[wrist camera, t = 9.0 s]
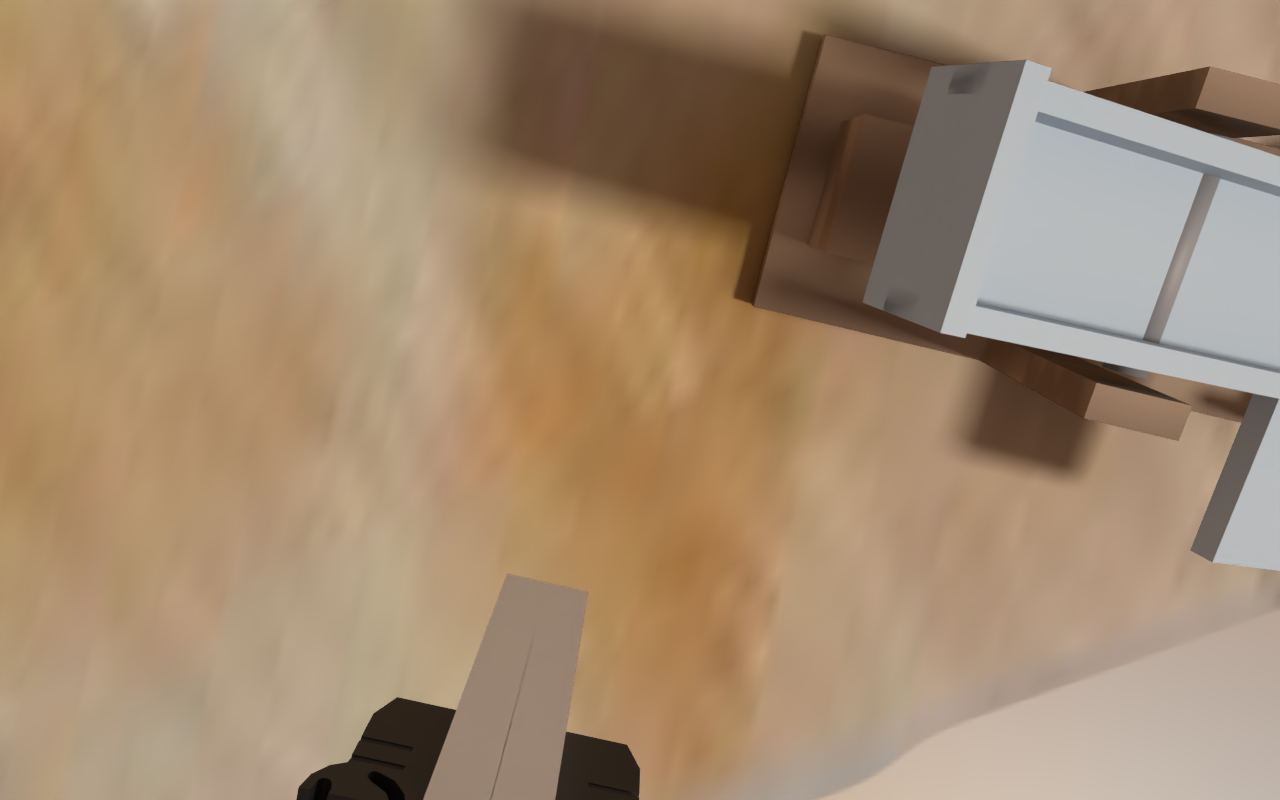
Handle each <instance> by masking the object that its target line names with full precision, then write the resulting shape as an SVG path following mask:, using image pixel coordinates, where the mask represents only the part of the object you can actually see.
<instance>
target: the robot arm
mask: <svg viewBox="0 0 1280 800" xmlns="http://www.w3.org/2000/svg"><path fill="white" fill-rule="evenodd" d="M587 596H588V592H587V591H583V590H578V589H574V588H569V587H565V586H560V585H556V584H551V583H547V582H542V581H538V580H534V579H529V578H525V577H520V576H516V575H511V574H507V575H506V578H505V581H504V584H503V586H502V589H501V592H500V594H499V597H498V600H497V602H496V605H495V608H494V610H493V613H492V616H491V618H490V621H489V624H488V627H487V629H486V632H485V635H484V637H483V640H482V643H481V645H480V648H479V651H478V653H477V656H476V659H475V662H474V664H473V667H472V670H471V672H470V675H469V678H468V680H467V683H466V686H465V688H464V691H463V694H462V696H461V699H460V702H459V705H458V707H457V710H453V709H448V708H444V707H439V706H435V705H430V704H425V703H421V702H416V701H412V700H407V699H403V698H398V697H397V698H396V699H394V700H393V701H391V702H390V703H388V704H387V705H386V706H384V707H383V708H381V709H380V710H378V711H377V712H375V713H374V714H373V716H372V718H371V720H370V721H369V723H368V725H367V727H366V729H365V731H364V733H363V735H362V738H361V741H359V742H358V744H357V746H356V748H355V750H354V752H353V754H352V757H351V759H350V760H349V762H346V763H340V764H334V765H329V766H327V767H325V768H323V769H321V770H319V771H317V772H315V773H313V774H311V775H310V776H309V777H308V778H307V779H306V780H305V781H304V782H303V783H302V784H301V785H300V786H299V789H298V795H297V800H639V798H638V797H639V783H640V768H639V766H638V765H637V763H636V761H635V759H634V757H633V755H632V753H631V752H630V750H629V748H628V746H627V745H625V744H620V743H616V742H611V741H607V740H602V739H597V738H593V737H588V736H584V735H579V734H575V733H570V732H566V728H567V722H568V716H569V709H570V703H571V697H572V691H573V684H574V678H575V672H576V665H577V659H578V653H579V647H580V640H581V634H582V628H583V622H584V615H585V609H586V603H587Z"/></svg>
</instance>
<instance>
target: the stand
mask: <svg viewBox="0 0 1280 800" xmlns="http://www.w3.org/2000/svg"><path fill="white" fill-rule="evenodd" d="M936 66H948V65H944V64H940V63H936V62H932V61H928V60H924V59H920V58H916V57H912V56H908V55H904V54H900V53H896V52H892V51H888V50H884V49H880V48H876V47H872V46H868V45H864V44H860V43H856V42H852V41H848V40H844V39H840V38H836V37H832V36H828V35H825V36H824V37H823V38H822V41H821V45H820V49H819V53H818V57H817V60H816V64H815V68H814V72H813V75H812V79H811V83H810V87H809V90H808V94H807V98H806V102H805V106H804V109H803V113H802V117H801V121H800V124H799V128H798V132H797V136H796V139H795V143H794V147H793V151H792V155H791V158H790V162H789V166H788V170H787V173H786V177H785V181H784V185H783V188H782V192H781V196H780V200H779V204H778V207H777V211H776V215H775V219H774V222H773V226H772V230H771V234H770V237H769V241H768V245H767V249H766V253H765V256H764V260H763V264H762V268H761V271H760V275H759V279H758V283H757V287H756V290H755V294H754V298H753V302H752V305H753V306H754V307H758V308H762V309H766V310H771V311H775V312H779V313H783V314H787V315H792V316H796V317H800V318H804V319H808V320H813V321H817V322H821V323H825V324H829V325H834V326H838V327H842V328H846V329H850V330H855V331H859V332H863V333H867V334H871V335H875V336H880V337H884V338H888V339H892V340H896V341H901V342H905V343H909V344H913V345H917V346H922V347H926V348H930V349H934V350H938V351H943V352H947V353H951V354H955V355H959V356H964V357H968V358H972V359H976V360H980V361H982V362H984V363H986V364H987V365H989V366H991V367H993V368H995V369H996V370H998V371H1000V372H1002V373H1004V374H1005V375H1007V376H1009V377H1011V378H1012V379H1014V380H1016V381H1018V382H1020V383H1021V384H1023V385H1025V386H1027V387H1029V388H1030V389H1032V390H1034V391H1036V392H1038V393H1039V394H1041V395H1043V396H1045V397H1046V398H1048V399H1050V400H1052V401H1054V402H1055V403H1057V404H1059V405H1061V406H1063V407H1064V408H1066V409H1068V410H1070V411H1072V412H1073V413H1075V414H1077V415H1079V416H1081V417H1082V418H1084V419H1089V420H1093V421H1097V422H1101V423H1106V424H1110V425H1114V426H1118V427H1122V428H1127V429H1131V430H1135V431H1139V432H1144V433H1148V434H1152V435H1156V436H1160V437H1165V438H1169V439H1173V440H1177V441H1179V438H1180V436H1181V433H1182V430H1183V428H1184V425H1185V423H1186V420H1187V418H1188V415H1189V412H1190V411H1194V412H1199V413H1203V414H1207V415H1211V416H1215V417H1220V418H1224V419H1228V420H1232V421H1236V422H1241V423H1242V420H1243V418H1244V415H1245V413H1246V410H1247V408H1248V405H1249V403H1250V400H1251V398H1252V395H1253V393H1249V392H1244V391H1239V390H1235V389H1230V388H1225V387H1220V386H1216V385H1211V384H1206V383H1201V382H1197V381H1192V380H1187V379H1182V378H1177V377H1173V376H1168V375H1163V374H1158V373H1154V372H1149V374H1148V377H1147V379H1144V378H1139V377H1135V376H1131V375H1127V374H1123V373H1120V372H1116V371H1113V370H1110V369H1107V368H1104V367H1102V365H1103V362H1101V361H1096V360H1092V359H1087V358H1082V357H1077V356H1073V355H1068V354H1063V353H1058V352H1054V351H1049V350H1044V349H1039V348H1034V347H1030V346H1025V345H1020V344H1015V343H1011V342H1006V341H1001V340H996V339H992V338H987V337H982V336H977V335H973V334H968V333H967V334H966V337H965V338H962V337H958V336H953V335H948V334H943V333H939V332H937V331H934V330H932V329H929V328H926V327H924V326H921V325H919V324H916V323H914V322H911V321H909V320H906V319H903V318H901V317H898V316H896V315H893V314H891V313H888V312H886V311H883V310H880V309H878V308H875V307H873V306H870V305H868V304H865V303H863V299H864V295H865V292H866V289H867V285H868V282H869V278H870V275H871V272H872V268H873V265H874V261H875V258H876V255H877V251H878V248H879V244H880V241H881V237H882V234H883V231H884V227H885V224H886V220H887V217H888V214H889V210H890V207H891V203H892V200H893V197H894V193H895V190H896V186H897V183H898V179H899V176H900V173H901V169H902V166H903V162H904V159H905V156H906V152H907V149H908V145H909V142H910V139H911V135H912V132H913V128H914V125H915V121H916V118H917V115H918V111H919V108H920V104H921V101H922V98H923V94H924V91H925V87H926V84H927V81H928V77H929V74H930V70H931V67H936ZM1084 93H1087V94H1090V95H1093V96H1096V97H1099V98H1102V99H1105V100H1108V101H1111V102H1114V103H1117V104H1120V105H1123V106H1126V107H1130V108H1133V109H1136V110H1139V111H1142V112H1145V113H1148V114H1151V115H1154V116H1157V117H1160V118H1163V119H1166V120H1169V121H1172V122H1175V123H1179V124H1182V125H1185V126H1188V127H1191V128H1194V129H1197V130H1200V131H1203V132H1206V133H1213V134H1218V135H1222V136H1226V137H1229V138H1232V139H1234V140H1235V142H1237V143H1240V144H1243V145H1246V146H1249V147H1252V148H1255V149H1258V150H1261V151H1264V152H1267V153H1270V154H1273V155H1276V156H1280V149H1278V148H1275V147H1271V146H1267V145H1263V144H1259V143H1255V142H1251V141H1247V140H1243V139H1239V138H1242V137H1256V136H1271V135H1280V84H1277V83H1273V82H1269V81H1265V80H1261V79H1258V78H1254V77H1250V76H1246V75H1242V74H1238V73H1234V72H1230V71H1226V70H1222V69H1218V68H1214V67H1206V68H1201V69H1196V70H1191V71H1186V72H1181V73H1176V74H1171V75H1166V76H1161V77H1156V78H1151V79H1146V80H1141V81H1136V82H1131V83H1126V84H1121V85H1116V86H1111V87H1106V88H1101V89H1096V90H1091V91H1086V92H1084Z"/></svg>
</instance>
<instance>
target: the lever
mask: <svg viewBox="0 0 1280 800" xmlns="http://www.w3.org/2000/svg"><path fill="white" fill-rule="evenodd" d="M1051 70H1052V68H1050V67H1047V66H1044V65H1041V64H1038V63H1035V62H1032V61H1029V60H1017V61H1003V62H990V63H976V64H963V65H949V66H936V67H931V70H930V74H929V77H928V81H927V84H926V87H925V91H924V94H923V98H922V101H921V104H920V108H919V111H918V115H917V118H916V121H915V125H914V128H913V132H912V135H911V139H910V142H909V145H908V149H907V152H906V156H905V159H904V162H903V166H902V169H901V173H900V176H899V179H898V183H897V186H896V190H895V193H894V197H893V200H892V203H891V207H890V210H889V214H888V217H887V220H886V224H885V227H884V231H883V234H882V237H881V241H880V244H879V248H878V251H877V255H876V258H875V261H874V265H873V268H872V272H871V275H870V278H869V282H868V285H867V289H866V292H865V295H864V299H863V303H865V304H868V305H870V306H873V307H875V308H878V309H880V310H883V311H886V312H888V313H891V314H893V315H896V316H898V317H901V318H903V319H906V320H909V321H911V322H914V323H916V324H919V325H921V326H924V327H926V328H929V329H932V330H934V331H937V332H939V333H943V334H948V335H953V336H958V337H962V338H965V337H966V334H967V333H968V334H973V335H977V336H982V337H987V338H992V339H996V340H1001V341H1006V342H1011V343H1015V344H1020V345H1025V346H1030V347H1034V348H1039V349H1044V350H1049V351H1054V352H1058V353H1063V354H1068V355H1073V356H1077V357H1082V358H1087V359H1092V360H1096V361H1101V362H1103V365H1102V367H1104V368H1107V369H1110V370H1113V371H1116V372H1120V373H1123V374H1127V375H1131V376H1135V377H1139V378H1144V379H1147V377H1148V374H1149V372H1154V373H1158V374H1163V375H1168V376H1173V377H1177V378H1182V379H1187V380H1192V381H1197V382H1201V383H1206V384H1211V385H1216V386H1220V387H1225V388H1230V389H1235V390H1239V391H1244V392H1249V393H1253V395H1252V398H1251V400H1250V403H1249V405H1248V408H1247V410H1246V413H1245V415H1244V418H1243V420H1242V423H1241V425H1240V428H1239V430H1238V433H1237V435H1236V438H1235V440H1234V443H1233V445H1232V448H1231V450H1230V453H1229V455H1228V458H1227V460H1226V463H1225V465H1224V468H1223V470H1222V473H1221V475H1220V478H1219V480H1218V483H1217V485H1216V488H1215V490H1214V493H1213V495H1212V498H1211V500H1210V503H1209V505H1208V508H1207V510H1206V513H1205V515H1204V518H1203V520H1202V523H1201V525H1200V528H1199V530H1198V533H1197V535H1196V538H1195V540H1194V542H1193V545H1192V547H1191V551H1193V552H1194V553H1196V554H1198V555H1200V556H1202V557H1204V558H1206V559H1207V560H1209V561H1211V562H1215V563H1223V564H1231V565H1239V566H1246V567H1254V568H1262V569H1270V570H1278V571H1280V156H1276V155H1273V154H1270V153H1267V152H1264V151H1261V150H1258V149H1255V148H1252V147H1249V146H1246V145H1243V144H1240V143H1237V142H1235V140H1234V139H1232V138H1229V137H1226V136H1222V135H1218V134H1213V133H1206V132H1203V131H1200V130H1197V129H1194V128H1191V127H1188V126H1185V125H1182V124H1179V123H1175V122H1172V121H1169V120H1166V119H1163V118H1160V117H1157V116H1154V115H1151V114H1148V113H1145V112H1142V111H1139V110H1136V109H1133V108H1130V107H1126V106H1123V105H1120V104H1117V103H1114V102H1111V101H1108V100H1105V99H1102V98H1099V97H1096V96H1093V95H1090V94H1087V93H1084V92H1081V91H1077V90H1074V89H1071V88H1068V87H1065V86H1062V85H1059V84H1056V83H1053V82H1050V81H1048V80H1049V76H1050V73H1051Z"/></svg>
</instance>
